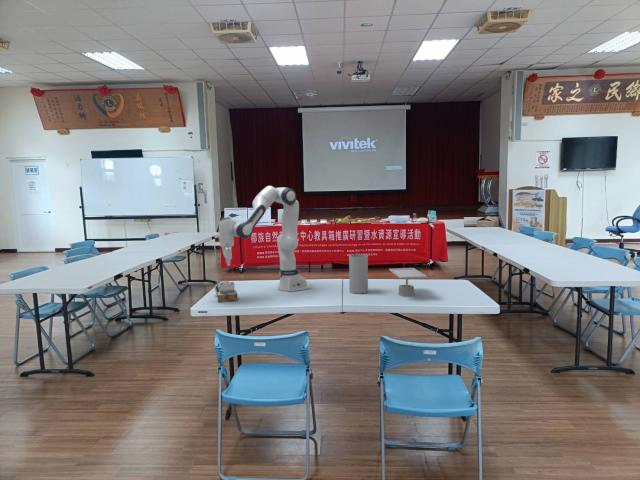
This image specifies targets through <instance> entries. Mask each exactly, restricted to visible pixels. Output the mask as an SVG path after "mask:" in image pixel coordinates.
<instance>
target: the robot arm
mask: <svg viewBox="0 0 640 480" xmlns="http://www.w3.org/2000/svg"><path fill="white" fill-rule="evenodd" d="M251 203H252V208H253V212H252V213H251V215H250V216H249V217H248V218H247V219H246V220H245V221H243V222H242V221H238V220H235V219H233V218H232V217H229V216H227V217H223V218H221V219H220V220H219V221H218V233H219V237H218V238H219V247H220V248H221V249H222V254H223V257H224V259H225V264H226V265H227V266H228V267H230V266H231V260H232V259H233V256H232V255H233V254H232V253H233V251H232V248H233V246H235V241H234V238H235V237H238V238H240V239H243V240H246V239H249V238H250V237H251V236H252V235H253V232H254V230H255V228H256V226H257V225H258V223H259V222H260V221H261V220H262V218H263V216H264V215H265V213H266V212H267V210H268V209H269V208H270V207H271V206H272V205H273V203H277V204H282V206H283V211H282V218H281V229H282V230H281V233H280V234H279V235H278V236H277V238H276V243H277V249H278V255H279V273H278V274H279V285H278V287H277V288H278V290H279V291H283V292H284V291H285V292H291V293H292V292H297V291H305V290H311V286H310V285H309V284H308V281H307V279H306V278H305V277H304V276H302V275H301V274H300V273H301V270H300V269H298V268H297V265H296V256H295V250H296V249H297V248H298V246H299V240H298V223H299V215H300V203H299V201H298V200H297V194H296V191H295V190H294V189H293V188H289V187H283V186H282V187H274V186H272V185H267V186H265V187H264V188H263V189H262V190H260V192H258V194H256V196H255V197H254V199H253V201H252V202H251Z"/></svg>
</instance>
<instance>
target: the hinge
mask: <svg viewBox="0 0 640 480" xmlns="http://www.w3.org/2000/svg"><path fill="white" fill-rule="evenodd" d="M229 282H230V281H228V280H223V281H219V282H218V283H216V284H215V286H214V291H215V295H216V296H217V292H220V286H219V283H229Z"/></svg>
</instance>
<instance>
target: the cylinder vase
mask: <svg viewBox="0 0 640 480" xmlns="http://www.w3.org/2000/svg"><path fill="white" fill-rule="evenodd" d="M348 261H349V262H348V265H349V266H348V270H349V272H348V274H349V275H348V276H349V278H348V279H349V281H348V283H349V285H348V286H349V288H348V289H349V292H350V293H352V294H354V293H356V294H357V295H362V293H363V294H366V293H368V291H369V276H368V275H369V268H368V267H369V255H368V254H362V253H358V254H357V253H355V254H354V253H352V254H349V257H348Z"/></svg>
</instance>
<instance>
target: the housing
mask: <svg viewBox="0 0 640 480" xmlns="http://www.w3.org/2000/svg"><path fill="white" fill-rule="evenodd" d="M218 283H219V282H218ZM219 286H220V294H227V293H235V290H236V289H235V282H234V281H232V282H230V281H229V283H219Z"/></svg>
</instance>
